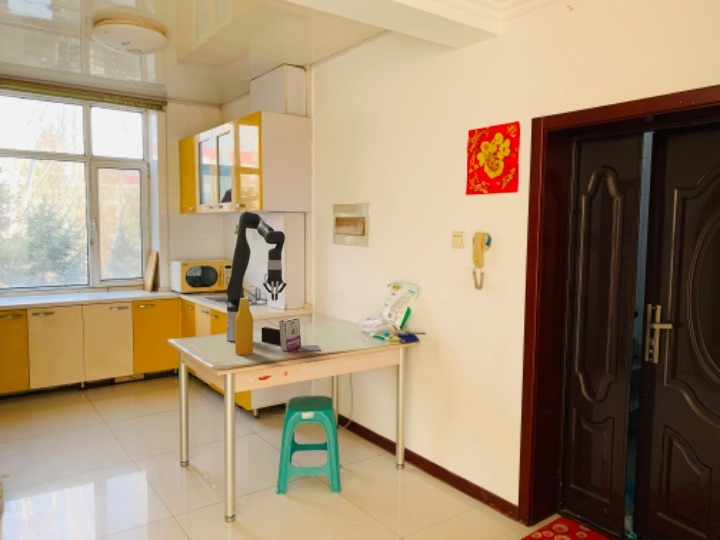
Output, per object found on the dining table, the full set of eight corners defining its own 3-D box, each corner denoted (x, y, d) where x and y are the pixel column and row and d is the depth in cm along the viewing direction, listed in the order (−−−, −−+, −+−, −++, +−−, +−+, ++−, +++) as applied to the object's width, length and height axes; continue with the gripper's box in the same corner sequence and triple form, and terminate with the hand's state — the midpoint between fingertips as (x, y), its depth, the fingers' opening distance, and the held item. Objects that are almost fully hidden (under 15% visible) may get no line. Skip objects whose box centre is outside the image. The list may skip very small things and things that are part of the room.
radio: (286, 345, 296) (286, 318, 295) (282, 346, 294) (282, 319, 293) (262, 340, 307) (262, 315, 306) (259, 341, 304) (259, 316, 303)
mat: (298, 351, 281) (298, 350, 281) (296, 346, 292) (296, 345, 292) (320, 351, 283) (320, 349, 283) (317, 346, 295) (317, 345, 295)
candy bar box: (294, 346, 292) (293, 316, 290) (301, 346, 289) (299, 317, 287) (280, 350, 283) (278, 320, 281) (287, 351, 280) (285, 321, 278)
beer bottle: (231, 353, 274) (231, 298, 272) (244, 350, 282) (244, 296, 280) (243, 356, 269) (243, 300, 267) (256, 352, 277) (257, 298, 274)
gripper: (262, 268, 275) (262, 301, 277) (288, 269, 278) (287, 301, 280) (261, 267, 283) (261, 299, 284) (286, 267, 285) (286, 299, 287)
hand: (274, 300), depth 282 cm, fingers closed
